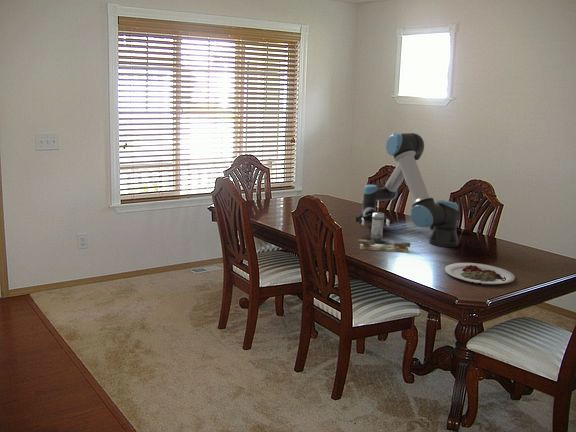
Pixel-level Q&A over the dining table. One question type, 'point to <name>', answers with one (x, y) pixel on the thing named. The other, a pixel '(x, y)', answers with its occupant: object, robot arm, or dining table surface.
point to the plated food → (479, 273)
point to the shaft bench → (384, 246)
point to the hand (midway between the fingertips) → (376, 223)
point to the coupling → (377, 226)
